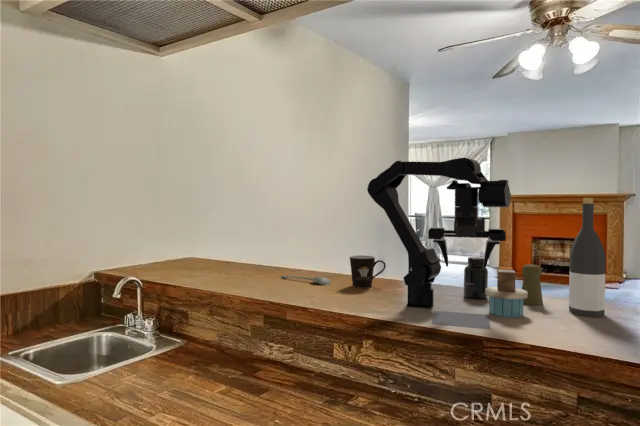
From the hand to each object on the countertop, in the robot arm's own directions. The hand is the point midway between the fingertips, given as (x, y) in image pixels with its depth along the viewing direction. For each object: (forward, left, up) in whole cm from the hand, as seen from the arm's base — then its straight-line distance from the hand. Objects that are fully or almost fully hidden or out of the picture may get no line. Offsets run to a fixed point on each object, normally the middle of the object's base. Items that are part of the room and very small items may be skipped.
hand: (465, 267), depth 115 cm
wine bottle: (+30, +10, -12) cm, 34 cm away
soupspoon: (-55, +29, -13) cm, 64 cm away
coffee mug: (-32, +27, -12) cm, 44 cm away
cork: (+18, +18, -12) cm, 28 cm away
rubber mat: (-1, -8, -12) cm, 14 cm away
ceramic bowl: (+10, +2, -12) cm, 16 cm away
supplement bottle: (+3, +21, -12) cm, 24 cm away
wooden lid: (+10, +2, -7) cm, 12 cm away
